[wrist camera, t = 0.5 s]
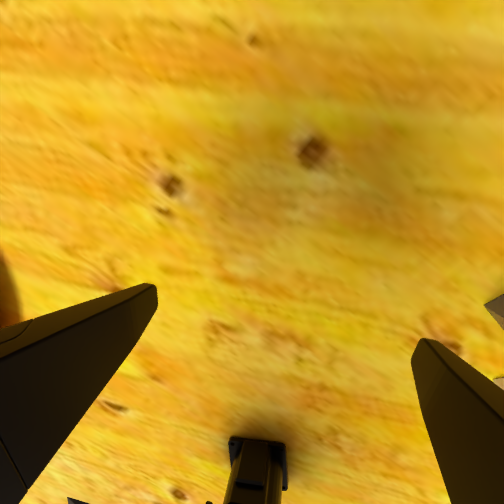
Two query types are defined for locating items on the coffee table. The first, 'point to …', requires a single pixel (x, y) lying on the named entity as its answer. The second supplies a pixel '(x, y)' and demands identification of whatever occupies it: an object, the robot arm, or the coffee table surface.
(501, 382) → the socket board
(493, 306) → the plug
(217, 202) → the coffee table surface
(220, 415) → the coffee table surface
